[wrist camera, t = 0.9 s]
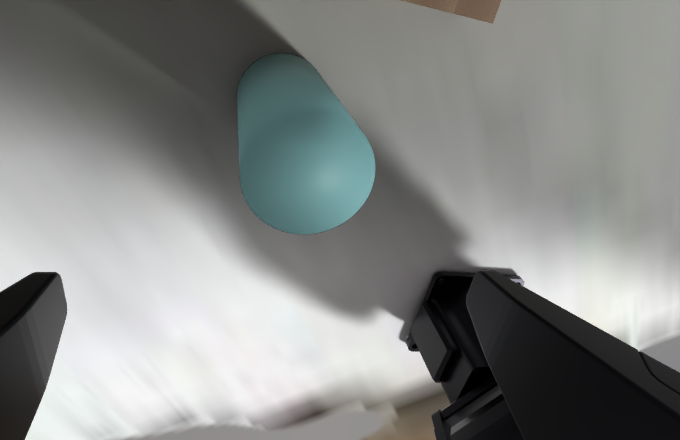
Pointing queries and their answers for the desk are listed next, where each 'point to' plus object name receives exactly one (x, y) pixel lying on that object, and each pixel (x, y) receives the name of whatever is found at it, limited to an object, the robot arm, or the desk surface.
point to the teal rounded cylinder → (299, 148)
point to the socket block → (464, 7)
